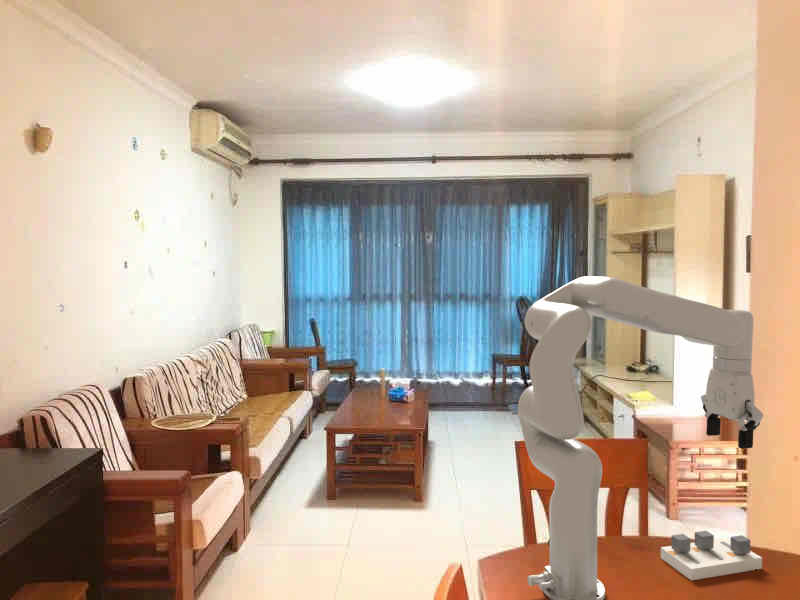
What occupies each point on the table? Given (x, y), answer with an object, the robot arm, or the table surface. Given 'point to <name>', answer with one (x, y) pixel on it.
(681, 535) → the left switch
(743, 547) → the right switch
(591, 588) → the robot arm
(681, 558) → the switch box
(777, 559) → the table surface
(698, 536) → the middle switch
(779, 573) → the table surface
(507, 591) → the table surface
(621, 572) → the table surface
